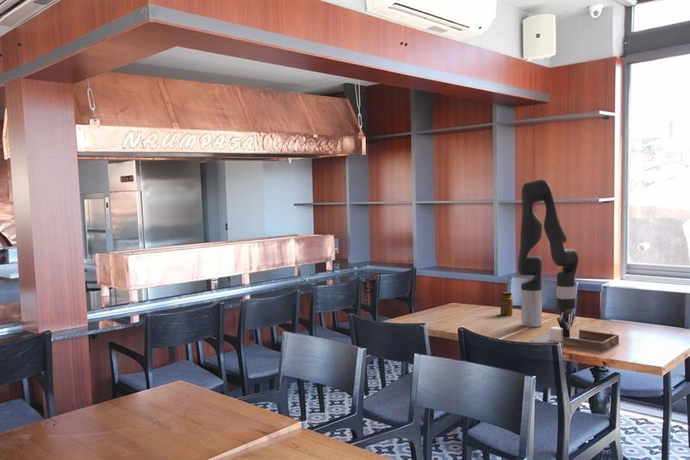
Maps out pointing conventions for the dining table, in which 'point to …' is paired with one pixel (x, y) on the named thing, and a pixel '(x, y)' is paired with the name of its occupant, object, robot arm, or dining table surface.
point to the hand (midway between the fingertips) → (566, 337)
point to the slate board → (546, 339)
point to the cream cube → (556, 334)
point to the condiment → (506, 304)
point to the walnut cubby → (607, 339)
